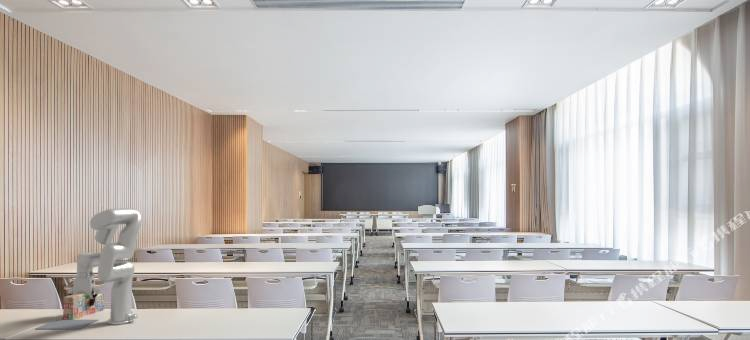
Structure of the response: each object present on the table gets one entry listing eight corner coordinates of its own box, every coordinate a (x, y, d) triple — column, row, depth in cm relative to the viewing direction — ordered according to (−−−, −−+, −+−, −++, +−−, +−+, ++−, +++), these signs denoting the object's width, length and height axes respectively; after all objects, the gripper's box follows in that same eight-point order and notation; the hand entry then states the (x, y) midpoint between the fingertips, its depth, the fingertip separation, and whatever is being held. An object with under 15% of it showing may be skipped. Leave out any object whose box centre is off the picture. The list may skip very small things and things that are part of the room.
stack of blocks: (94, 309, 265) (95, 288, 266) (103, 310, 264) (104, 288, 265) (62, 319, 244) (63, 296, 245) (72, 320, 243) (73, 297, 244)
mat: (98, 320, 243) (98, 319, 243) (79, 329, 227) (79, 328, 227) (56, 320, 242) (56, 319, 242) (35, 329, 226) (35, 328, 226)
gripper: (103, 273, 259) (102, 304, 258) (73, 273, 258) (71, 303, 258) (96, 276, 251) (94, 307, 251) (64, 275, 251) (62, 307, 250)
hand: (83, 305), depth 254 cm, fingers open, 9 cm apart
